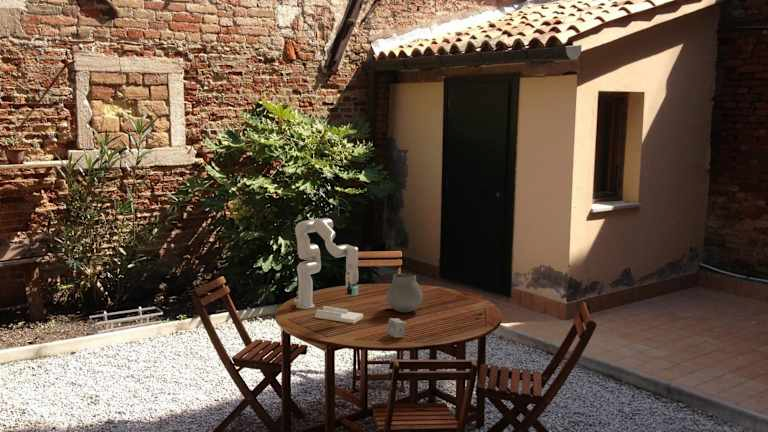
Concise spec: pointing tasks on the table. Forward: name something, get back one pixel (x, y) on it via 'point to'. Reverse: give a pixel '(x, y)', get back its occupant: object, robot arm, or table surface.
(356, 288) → the block
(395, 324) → the incense holder
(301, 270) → the robot arm
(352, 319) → the deck
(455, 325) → the table surface
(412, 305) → the ceramic pot
